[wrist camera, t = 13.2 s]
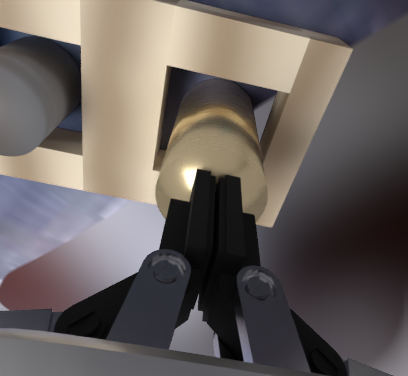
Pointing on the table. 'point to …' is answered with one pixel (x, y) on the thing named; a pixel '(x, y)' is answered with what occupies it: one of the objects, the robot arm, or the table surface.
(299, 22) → the table surface
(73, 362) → the robot arm
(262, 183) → the gold metallic cylinder
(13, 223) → the table surface
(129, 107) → the jig
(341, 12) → the table surface
